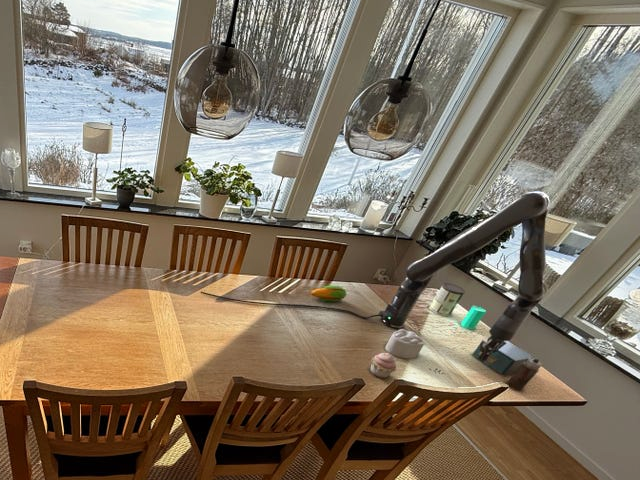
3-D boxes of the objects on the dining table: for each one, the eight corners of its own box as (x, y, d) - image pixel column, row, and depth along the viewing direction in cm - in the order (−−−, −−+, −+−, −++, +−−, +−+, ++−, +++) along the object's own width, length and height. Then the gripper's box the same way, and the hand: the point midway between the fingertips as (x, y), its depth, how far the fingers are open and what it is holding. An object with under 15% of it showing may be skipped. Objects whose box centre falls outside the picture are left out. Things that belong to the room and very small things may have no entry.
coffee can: (440, 306, 216) (454, 283, 208) (454, 316, 208) (470, 293, 200) (424, 305, 214) (438, 282, 206) (438, 316, 206) (453, 292, 198)
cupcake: (364, 362, 163) (375, 343, 157) (388, 369, 161) (399, 349, 155) (367, 376, 155) (378, 356, 149) (392, 383, 153) (405, 363, 148)
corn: (352, 290, 200) (317, 289, 196) (347, 303, 204) (312, 303, 200) (344, 284, 207) (309, 283, 202) (339, 297, 210) (305, 296, 206)
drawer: (494, 375, 166) (504, 362, 162) (465, 355, 176) (474, 343, 172) (518, 370, 171) (528, 358, 167) (489, 351, 181) (497, 340, 177)
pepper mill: (516, 391, 159) (540, 364, 151) (503, 382, 163) (526, 355, 155) (524, 389, 161) (548, 362, 153) (512, 381, 165) (534, 354, 157)
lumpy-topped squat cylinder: (420, 357, 171) (430, 341, 166) (395, 358, 168) (405, 342, 163) (403, 343, 179) (412, 327, 174) (379, 344, 176) (388, 328, 171)
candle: (476, 330, 198) (490, 310, 191) (463, 328, 198) (477, 307, 192) (470, 324, 203) (484, 304, 196) (458, 321, 203) (471, 301, 197)
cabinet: (503, 376, 167) (515, 360, 163) (471, 355, 178) (482, 340, 174) (521, 372, 171) (534, 357, 167) (489, 352, 182) (500, 337, 178)
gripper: (505, 333, 153) (479, 367, 163) (526, 330, 158) (499, 363, 168) (486, 322, 159) (462, 356, 169) (507, 319, 164) (483, 352, 173)
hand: (481, 359), depth 168 cm, fingers closed
